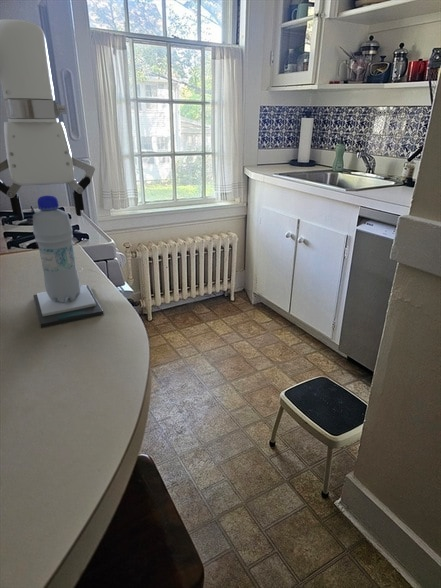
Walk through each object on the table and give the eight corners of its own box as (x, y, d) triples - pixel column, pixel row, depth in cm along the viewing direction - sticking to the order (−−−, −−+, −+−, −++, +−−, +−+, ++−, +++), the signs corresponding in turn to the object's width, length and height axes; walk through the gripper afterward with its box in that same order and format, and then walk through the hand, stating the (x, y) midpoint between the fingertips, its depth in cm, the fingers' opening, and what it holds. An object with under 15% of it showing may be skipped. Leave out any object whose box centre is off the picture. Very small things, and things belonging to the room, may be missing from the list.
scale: (35, 305, 81) (32, 292, 80) (89, 295, 86) (87, 282, 85) (42, 335, 70) (39, 321, 69) (104, 322, 75) (102, 308, 73)
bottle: (39, 299, 77) (18, 196, 68) (69, 288, 82) (52, 191, 73) (60, 308, 73) (40, 200, 65) (90, 296, 78) (75, 194, 70)
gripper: (85, 113, 70) (97, 208, 77) (-26, 112, 64) (-2, 216, 71) (90, 113, 64) (102, 217, 71) (-33, 112, 57) (-5, 226, 65)
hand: (50, 216), depth 71 cm, fingers open, 9 cm apart
